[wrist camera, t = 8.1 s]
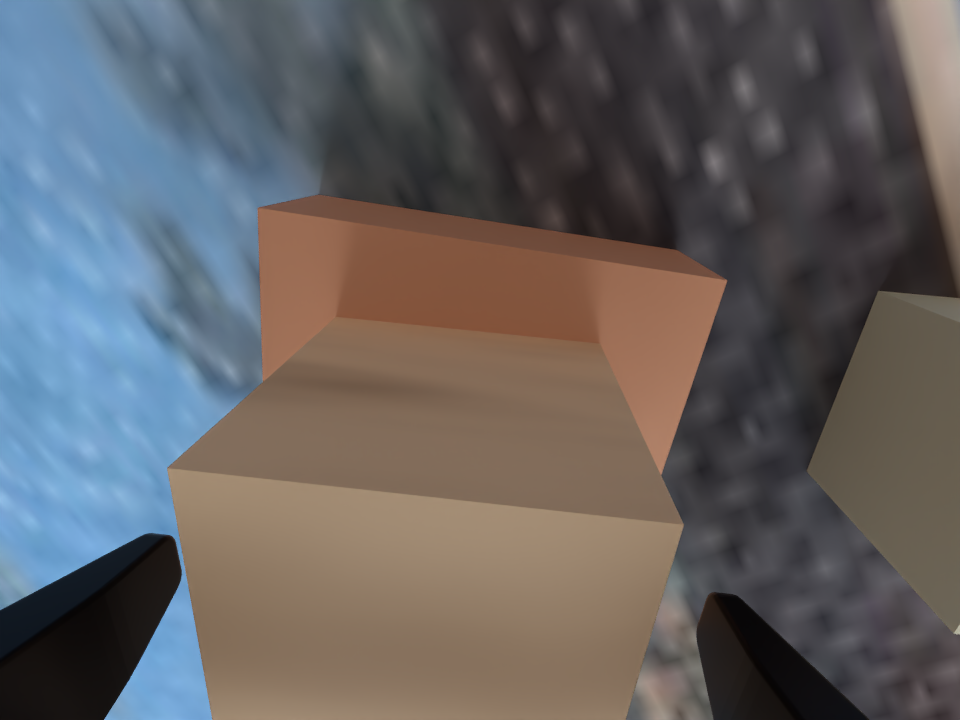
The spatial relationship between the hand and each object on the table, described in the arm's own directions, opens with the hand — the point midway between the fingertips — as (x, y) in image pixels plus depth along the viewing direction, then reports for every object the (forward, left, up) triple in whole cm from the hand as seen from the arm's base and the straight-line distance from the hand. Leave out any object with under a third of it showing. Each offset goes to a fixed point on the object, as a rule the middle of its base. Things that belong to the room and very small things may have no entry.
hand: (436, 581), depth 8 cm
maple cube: (0, 0, -4) cm, 4 cm away
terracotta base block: (0, 0, -8) cm, 8 cm away
